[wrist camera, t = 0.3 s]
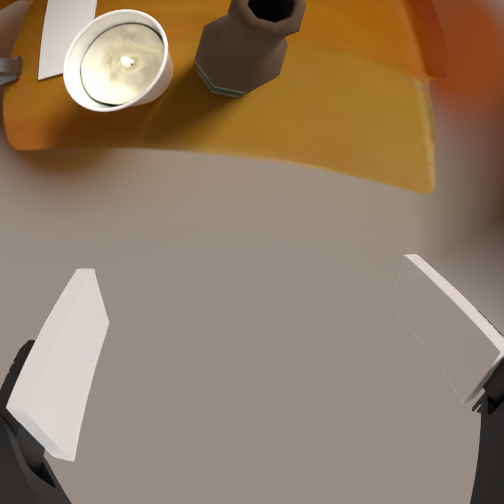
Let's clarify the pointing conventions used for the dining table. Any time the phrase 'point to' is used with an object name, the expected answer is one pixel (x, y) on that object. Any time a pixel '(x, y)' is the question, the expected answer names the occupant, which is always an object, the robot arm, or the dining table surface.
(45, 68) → the grey mat
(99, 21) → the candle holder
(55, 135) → the dining table surface
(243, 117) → the dining table surface
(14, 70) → the hook rack
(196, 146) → the dining table surface
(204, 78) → the beer bottle
